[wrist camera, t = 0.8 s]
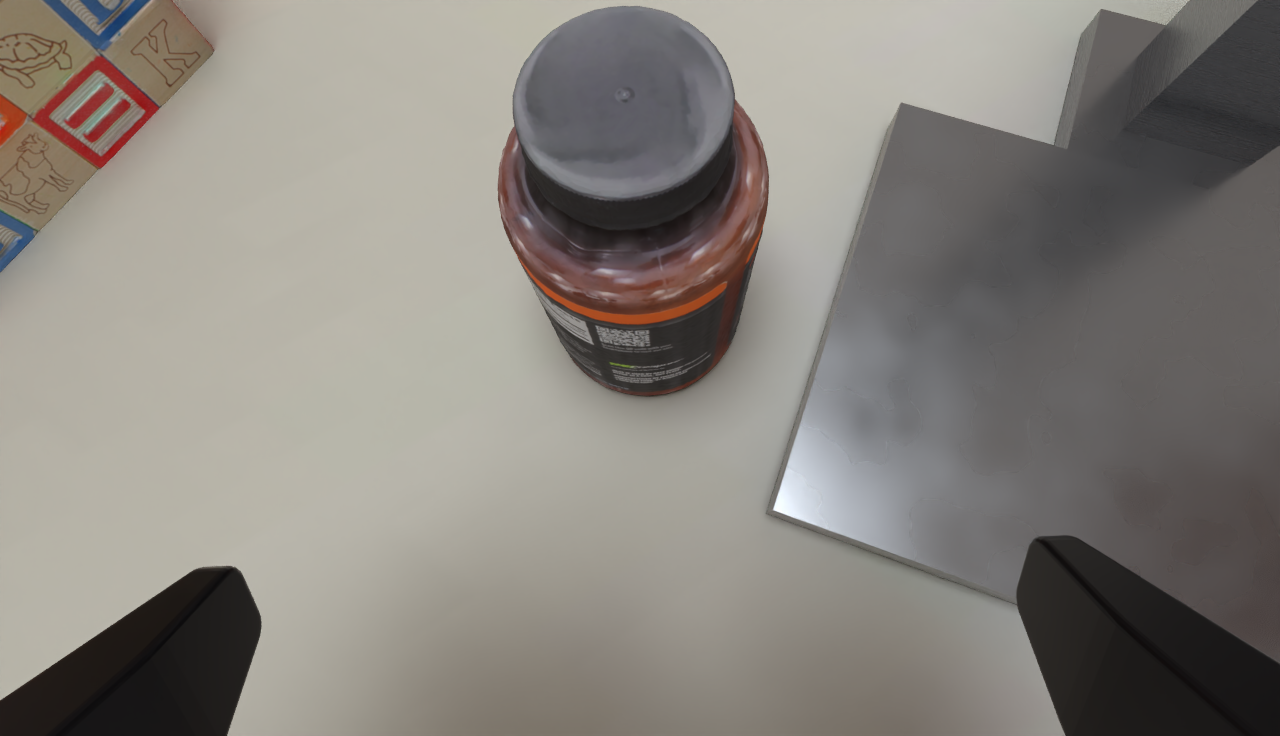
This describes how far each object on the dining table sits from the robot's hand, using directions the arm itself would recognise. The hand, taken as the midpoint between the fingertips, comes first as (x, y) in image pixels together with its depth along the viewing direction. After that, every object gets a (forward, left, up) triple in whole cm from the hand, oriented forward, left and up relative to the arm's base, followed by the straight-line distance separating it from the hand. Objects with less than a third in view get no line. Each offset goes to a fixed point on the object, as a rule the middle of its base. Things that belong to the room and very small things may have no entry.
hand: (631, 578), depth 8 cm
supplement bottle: (+6, -5, -14) cm, 16 cm away
